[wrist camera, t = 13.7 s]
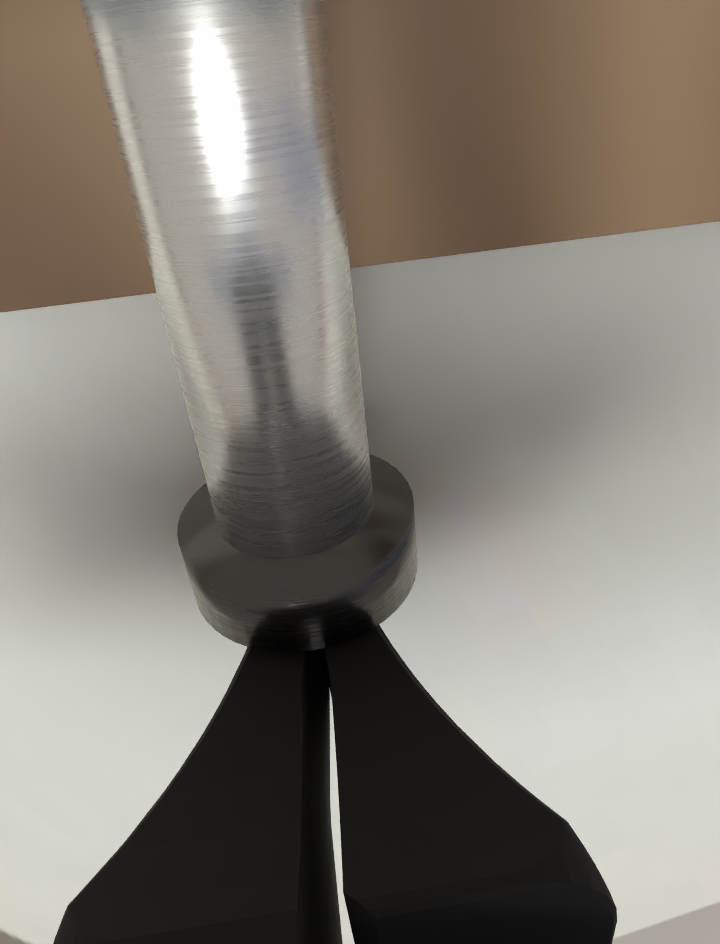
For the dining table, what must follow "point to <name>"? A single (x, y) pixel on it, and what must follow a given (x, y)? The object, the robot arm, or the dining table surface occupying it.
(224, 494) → the shaft
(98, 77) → the walnut board
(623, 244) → the dining table surface
